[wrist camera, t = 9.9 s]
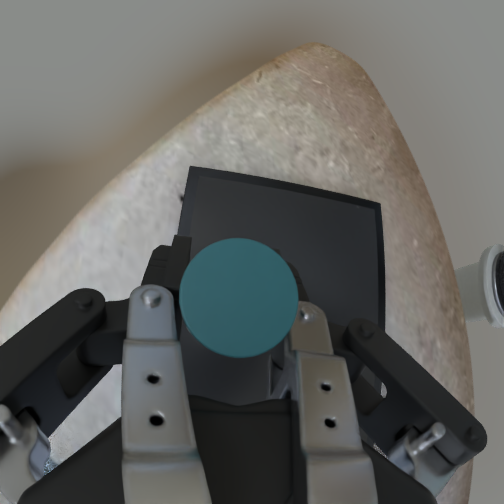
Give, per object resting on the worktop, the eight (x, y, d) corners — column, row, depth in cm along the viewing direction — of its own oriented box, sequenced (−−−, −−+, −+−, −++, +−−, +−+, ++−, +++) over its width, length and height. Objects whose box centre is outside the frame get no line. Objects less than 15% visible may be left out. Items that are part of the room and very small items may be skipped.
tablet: (374, 207, 25) (381, 202, 24) (365, 449, 19) (372, 453, 18) (189, 172, 22) (189, 164, 21) (159, 458, 16) (158, 464, 15)
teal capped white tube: (231, 298, 19) (301, 246, 8) (227, 343, 18) (295, 360, 7) (186, 292, 18) (187, 229, 7) (181, 338, 18) (173, 351, 6)
